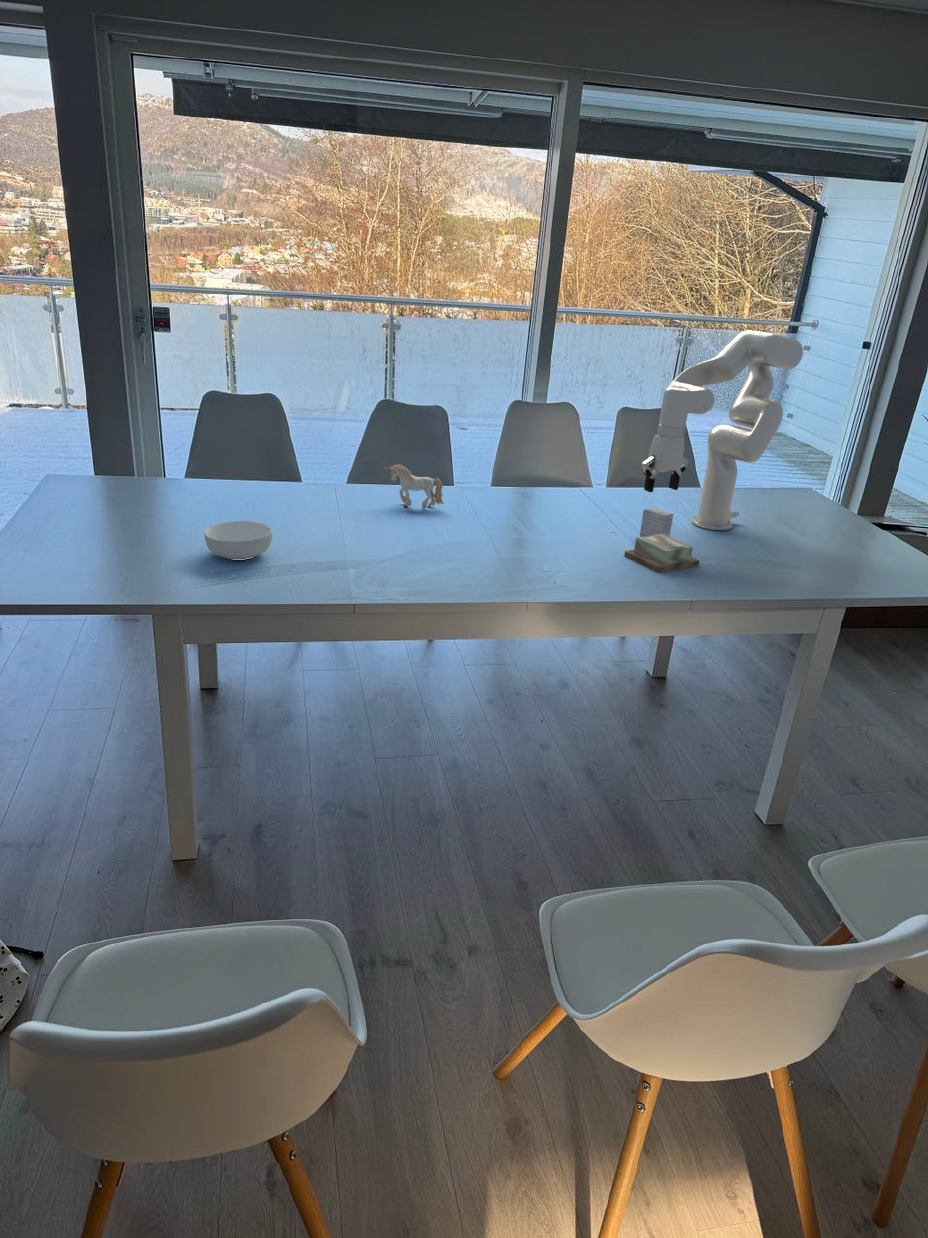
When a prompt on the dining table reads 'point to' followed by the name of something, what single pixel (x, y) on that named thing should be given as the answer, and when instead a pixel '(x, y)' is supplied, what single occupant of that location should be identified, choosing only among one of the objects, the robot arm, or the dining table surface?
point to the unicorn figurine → (416, 485)
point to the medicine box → (656, 522)
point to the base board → (656, 565)
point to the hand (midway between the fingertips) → (660, 489)
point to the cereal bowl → (238, 539)
